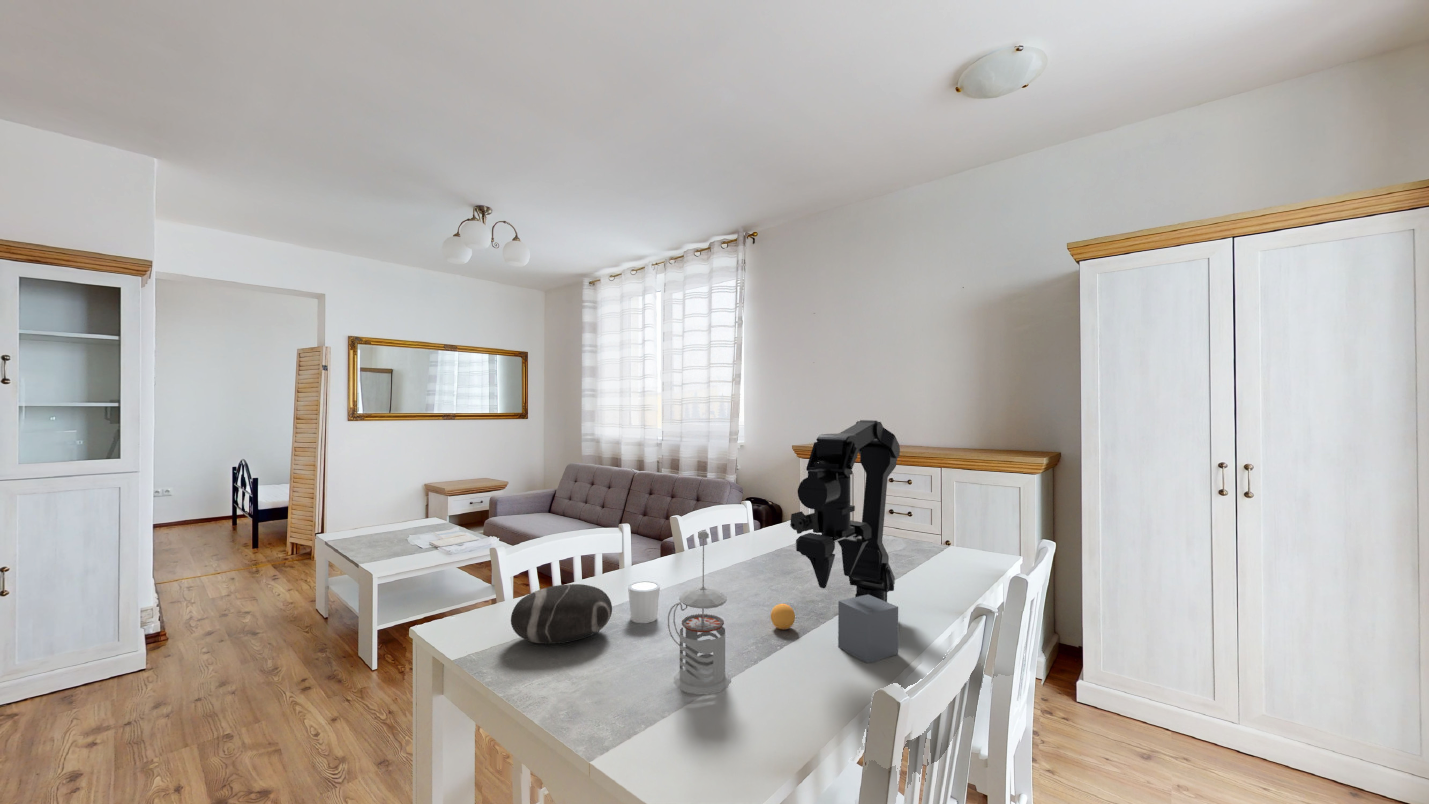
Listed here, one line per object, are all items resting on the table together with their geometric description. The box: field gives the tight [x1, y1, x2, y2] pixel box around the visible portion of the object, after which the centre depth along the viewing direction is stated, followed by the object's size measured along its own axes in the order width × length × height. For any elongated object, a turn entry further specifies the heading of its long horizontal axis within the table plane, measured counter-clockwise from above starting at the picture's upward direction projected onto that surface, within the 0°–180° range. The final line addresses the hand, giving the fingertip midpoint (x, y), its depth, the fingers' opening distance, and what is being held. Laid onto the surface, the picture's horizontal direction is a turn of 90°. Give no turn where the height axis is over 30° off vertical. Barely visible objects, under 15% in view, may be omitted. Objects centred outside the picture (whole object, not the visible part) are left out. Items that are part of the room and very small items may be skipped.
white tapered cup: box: [627, 580, 661, 624], centre depth 121 cm, size 7×7×7 cm
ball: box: [770, 603, 796, 630], centre depth 116 cm, size 5×5×5 cm
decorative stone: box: [510, 583, 613, 644], centre depth 111 cm, size 19×14×10 cm
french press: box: [667, 530, 732, 695], centre depth 95 cm, size 10×12×25 cm
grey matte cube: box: [837, 595, 899, 664], centre depth 106 cm, size 8×8×9 cm
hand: (835, 581), depth 107 cm, fingers open, 9 cm apart
